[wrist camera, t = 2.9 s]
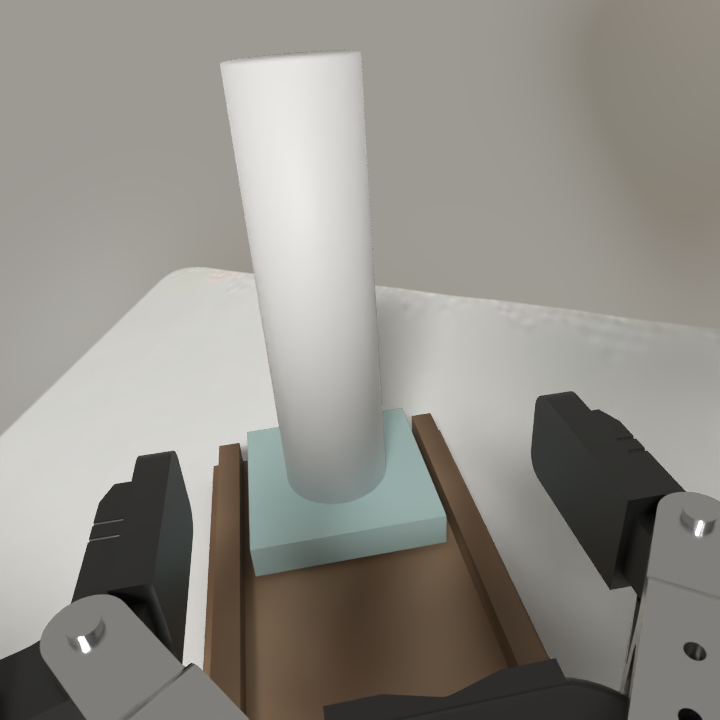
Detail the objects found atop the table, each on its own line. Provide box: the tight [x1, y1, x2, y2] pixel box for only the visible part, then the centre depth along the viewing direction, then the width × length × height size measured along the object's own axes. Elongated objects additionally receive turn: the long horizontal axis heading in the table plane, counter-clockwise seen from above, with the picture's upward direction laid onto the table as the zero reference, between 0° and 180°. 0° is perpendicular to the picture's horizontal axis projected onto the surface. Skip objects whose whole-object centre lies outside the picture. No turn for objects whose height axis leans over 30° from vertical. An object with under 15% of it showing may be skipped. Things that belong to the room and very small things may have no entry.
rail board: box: [203, 413, 550, 720], centre depth 22 cm, size 12×24×4 cm, turn 10°
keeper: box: [220, 50, 446, 576], centre depth 25 cm, size 8×8×18 cm
